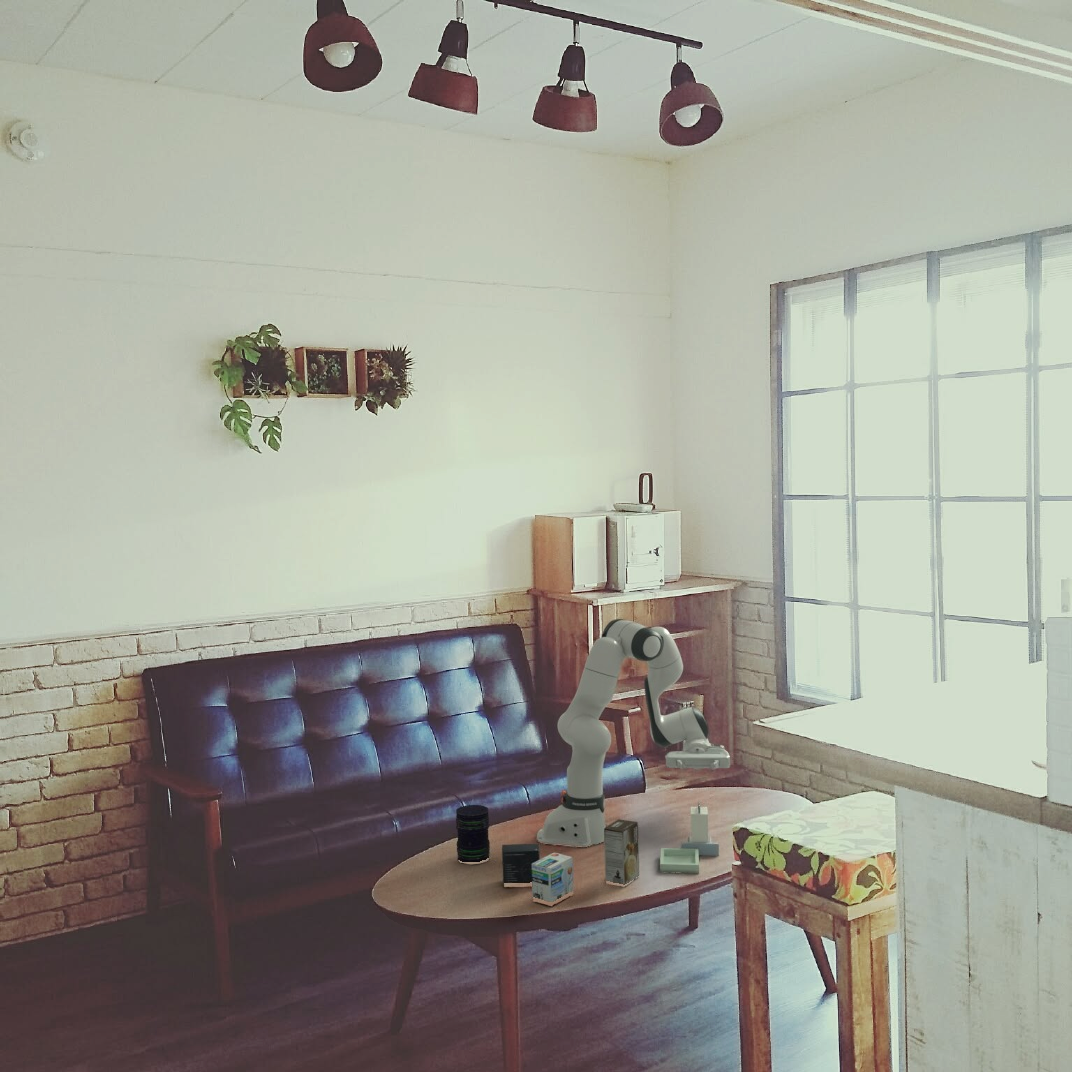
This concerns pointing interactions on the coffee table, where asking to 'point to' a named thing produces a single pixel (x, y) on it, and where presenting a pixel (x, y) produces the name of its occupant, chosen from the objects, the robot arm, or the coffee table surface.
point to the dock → (702, 847)
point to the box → (519, 862)
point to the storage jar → (472, 833)
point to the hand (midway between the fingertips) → (698, 767)
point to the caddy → (699, 824)
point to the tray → (679, 860)
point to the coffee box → (621, 851)
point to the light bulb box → (552, 877)
